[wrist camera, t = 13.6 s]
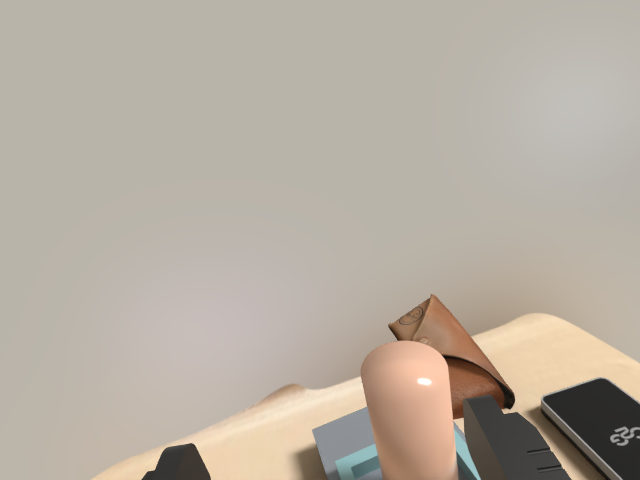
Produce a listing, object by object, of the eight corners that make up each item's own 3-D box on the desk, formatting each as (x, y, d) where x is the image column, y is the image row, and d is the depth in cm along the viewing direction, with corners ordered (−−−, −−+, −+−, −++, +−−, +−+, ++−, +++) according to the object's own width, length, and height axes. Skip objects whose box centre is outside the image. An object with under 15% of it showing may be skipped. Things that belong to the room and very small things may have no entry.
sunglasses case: (382, 323, 50) (400, 283, 48) (425, 332, 52) (444, 294, 50) (434, 429, 34) (464, 375, 32) (495, 439, 35) (527, 388, 33)
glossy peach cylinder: (411, 565, 22) (382, 417, 18) (378, 490, 27) (348, 357, 22) (478, 531, 23) (468, 381, 18) (435, 464, 28) (418, 331, 23)
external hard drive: (601, 391, 34) (603, 375, 33) (752, 510, 24) (759, 491, 23) (537, 412, 33) (537, 397, 33) (663, 544, 23) (667, 526, 22)
